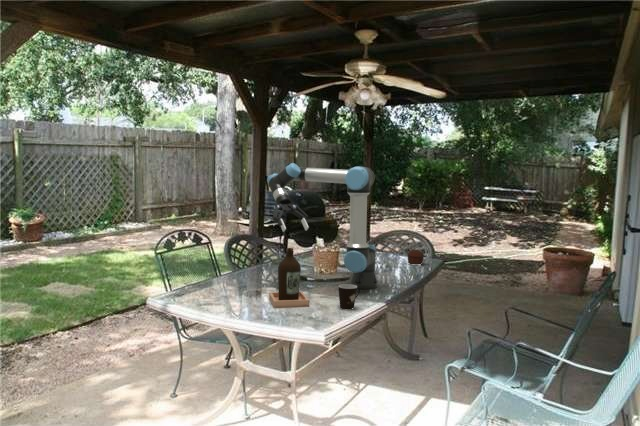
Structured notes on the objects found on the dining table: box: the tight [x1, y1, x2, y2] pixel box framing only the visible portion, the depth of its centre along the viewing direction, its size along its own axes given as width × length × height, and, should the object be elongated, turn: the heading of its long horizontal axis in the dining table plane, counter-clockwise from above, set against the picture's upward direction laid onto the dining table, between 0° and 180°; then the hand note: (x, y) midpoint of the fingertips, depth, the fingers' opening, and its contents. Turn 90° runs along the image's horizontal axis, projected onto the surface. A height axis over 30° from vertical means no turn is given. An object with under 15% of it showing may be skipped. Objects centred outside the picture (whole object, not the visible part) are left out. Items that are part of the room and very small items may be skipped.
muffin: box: [407, 249, 425, 264], centre depth 341 cm, size 12×11×10 cm
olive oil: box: [277, 247, 302, 300], centre depth 235 cm, size 11×11×25 cm
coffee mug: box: [337, 283, 361, 310], centre depth 230 cm, size 12×9×10 cm
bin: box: [268, 291, 310, 309], centre depth 236 cm, size 16×16×3 cm
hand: (296, 229), depth 257 cm, fingers open, 13 cm apart
